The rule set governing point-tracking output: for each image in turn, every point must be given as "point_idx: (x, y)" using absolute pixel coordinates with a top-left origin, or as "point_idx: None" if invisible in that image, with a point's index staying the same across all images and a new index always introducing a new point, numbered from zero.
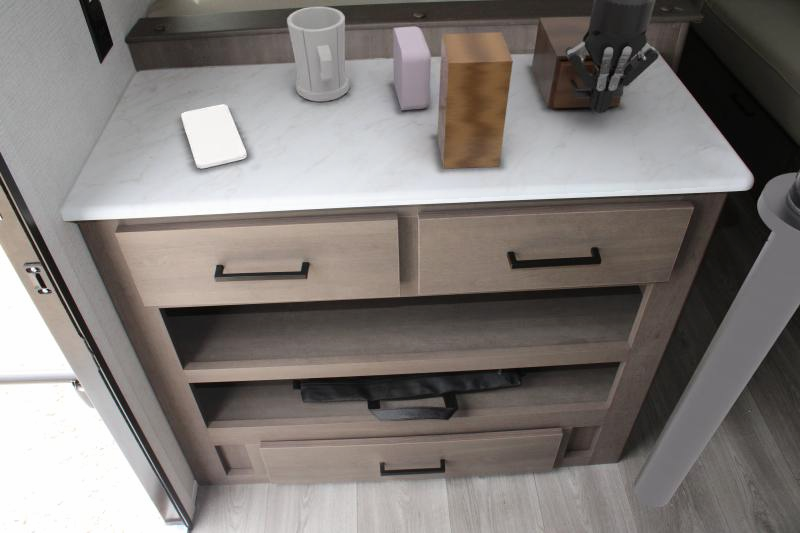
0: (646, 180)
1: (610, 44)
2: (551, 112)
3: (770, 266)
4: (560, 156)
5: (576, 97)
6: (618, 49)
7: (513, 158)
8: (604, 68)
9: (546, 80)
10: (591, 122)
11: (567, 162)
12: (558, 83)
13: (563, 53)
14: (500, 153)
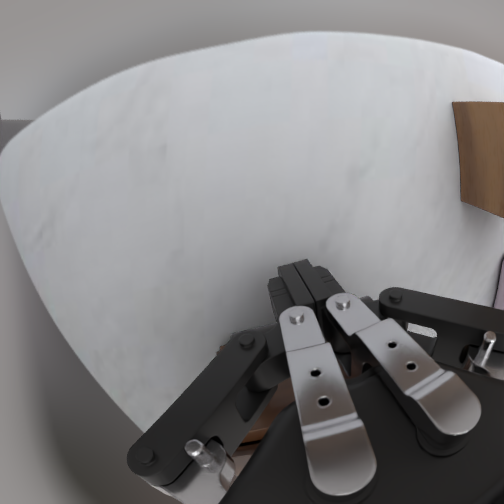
0: (159, 65)
1: (445, 453)
2: None
3: (21, 128)
4: (359, 131)
5: (364, 297)
6: (380, 456)
7: (436, 125)
8: (399, 345)
9: None
10: None
11: (345, 108)
12: None
13: None
14: (472, 102)
